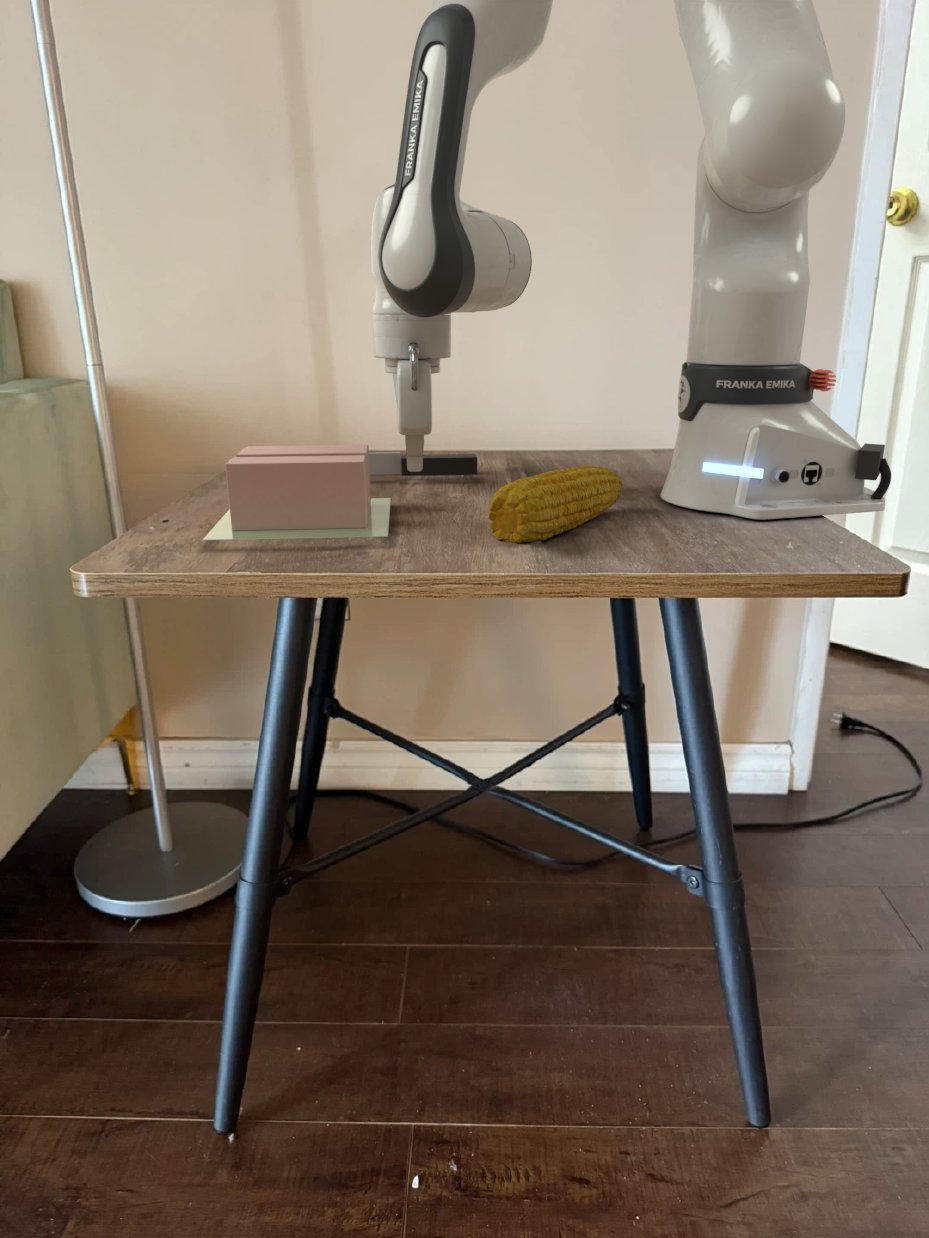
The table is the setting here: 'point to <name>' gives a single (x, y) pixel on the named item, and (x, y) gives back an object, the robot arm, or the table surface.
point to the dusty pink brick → (297, 492)
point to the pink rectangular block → (311, 454)
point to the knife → (431, 464)
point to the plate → (375, 528)
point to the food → (552, 502)
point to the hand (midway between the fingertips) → (414, 463)
